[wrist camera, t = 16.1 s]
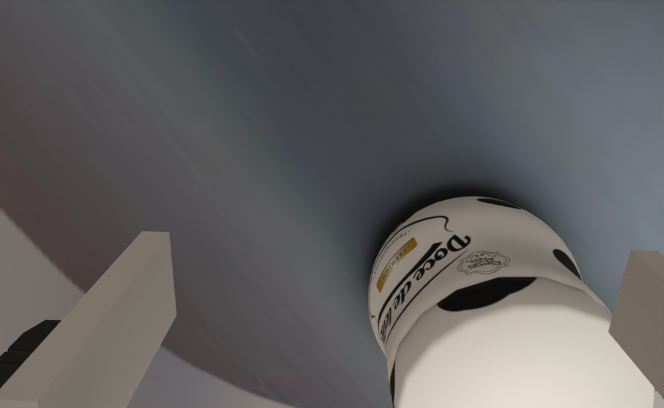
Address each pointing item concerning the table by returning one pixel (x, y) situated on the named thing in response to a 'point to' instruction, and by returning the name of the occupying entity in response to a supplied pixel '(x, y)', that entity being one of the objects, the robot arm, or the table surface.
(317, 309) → the table surface
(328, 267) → the table surface
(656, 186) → the table surface
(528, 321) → the milk container
